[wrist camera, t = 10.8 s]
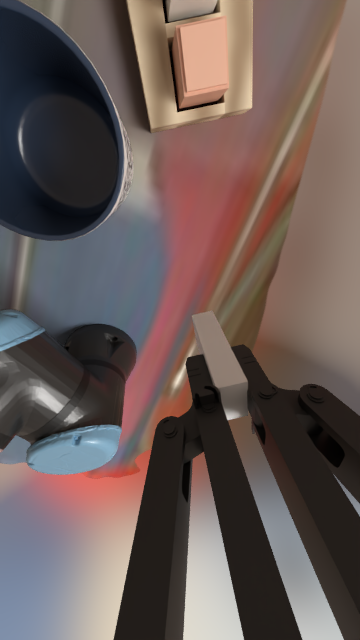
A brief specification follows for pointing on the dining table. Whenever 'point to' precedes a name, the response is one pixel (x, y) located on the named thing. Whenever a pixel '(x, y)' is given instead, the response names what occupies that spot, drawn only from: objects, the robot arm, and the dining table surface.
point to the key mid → (188, 8)
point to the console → (156, 67)
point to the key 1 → (201, 61)
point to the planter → (55, 132)
